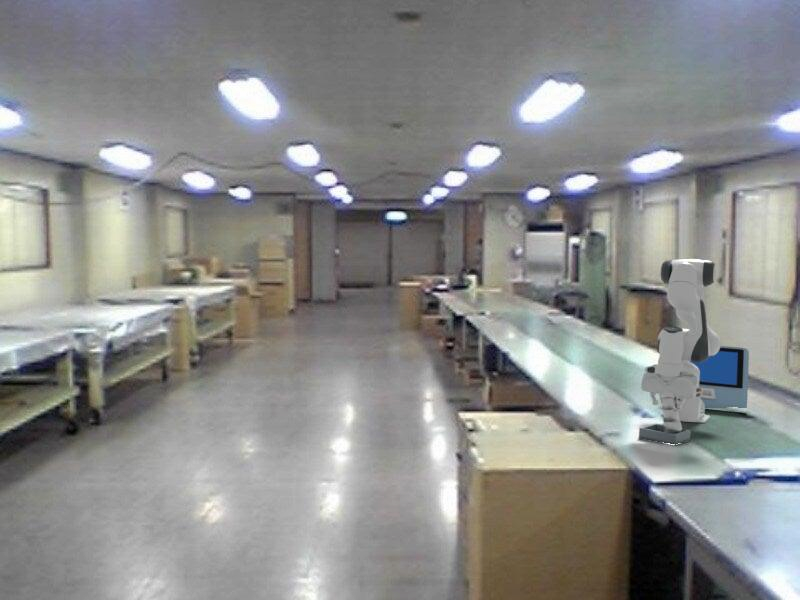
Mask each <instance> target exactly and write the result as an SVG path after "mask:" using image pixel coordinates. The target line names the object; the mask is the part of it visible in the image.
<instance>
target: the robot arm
mask: <svg viewBox="0 0 800 600" xmlns="http://www.w3.org/2000/svg"><path fill="white" fill-rule="evenodd" d="M717 275H718V269H717V267H716V264H715V263H714V261H712V260H707V259H704V260H702V259H695V258H688V259H673V258H672V259H666V260H664V261H663V262H662V263H661V266H660V269H659V277H660V279H661V281H662V283H664V284H666V285H667V291H666V292H667V293H666V294H667V295H666V296H667V297H666V298H667V301H668V303H669V304H670V305H671V306H672V307H673V308H674V309H675V315H676V317H677V318H678V319H679V320H681V321H682V322H683V323H686V325H687V326H688V328H682V327H678V326H665V327H663V328H662V330H661V331H660V332H659V333H658V337H657V349H656V352H657V353H658V354H659V357H658V358H657V359H658V360H657V364H653V365H649V366H646V367H644V372H645V373H643V375H642V378H641V384H640V387H641V390H642V392H648V393H649V395H650V398H651V399H652V405H654V406H658V405H659V399H657V398H656V395H657V394H659V395H660V393H661V391H662V390H663V389H669V390H670V391H671V392H672V393H673V395H674V396H676V397H678V404H677V409H678V414H679V418H680V422H684V423H685V422H686V423H700V424H701V423H702V424H704V423H706V422H708V421H709V419H710V418H711V415H709V414H705V412H706V410H705V404H704V403H703V401H702V400H701V398H700V392H702V388H699V380H700V370H699V368H698V367H697V366H696V365H694V364H693V363H691V362H690V361H692V362H697V363H702V362H704V361H705V360H707V359H708V358H709V356H714V355H715V354H717V353H718V351H719V349H720V347H721V346H722V341H721V339H720V337H719V335H718V334H717V333H716V332H715V331H714V330H712V328H711V327H710V326H709V324H708V322H707V321H708V320H707V314H706V306H705V289H704V288H706V287H708V286H711V285H713V284H714V283H715V280H716V278H717ZM663 381H667V383H668V385H667V384H663ZM664 385H667V386H664ZM661 416H662V417H663V412H661Z"/></svg>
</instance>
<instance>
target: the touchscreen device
mask: <svg viewBox="0 0 800 600" xmlns="http://www.w3.org/2000/svg"><path fill="white" fill-rule="evenodd" d="M749 355H750V352H749V349H748V348H745V347H740V346H739V347H736V346H726V345H725V346H724V345H721V347H720V349H719V351H718V353H717V354H715V355H714V356H709V358H708V359H707V360H705V361H704V362H702V363H697V362H692V361H690V362H691V363H693V364H694V365H696V366H697V367H698V368H699V370H700V380H699V388H702V392H700V398H701V400H702V401H703V403H704V404H705V408H727V407H738V408H747V409H748V390H749V388H748V387H749V362H750V361H749V360H750V356H749Z"/></svg>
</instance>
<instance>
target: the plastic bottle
mask: <svg viewBox="0 0 800 600" xmlns="http://www.w3.org/2000/svg"><path fill="white" fill-rule="evenodd" d="M663 384H667V385H668V383H667V381H663ZM667 385H664V386H667ZM659 399H660V404H661V409H662V413H663V416H662V417H663V423H662V425H663V429H664V432H665V433H670V434H677V433H680V432H681V431H682V429H683V427H682V421H680V418H679V414H678V409H677V404H678V397H676V396H674V395H673V393H672V392H671V391H670V390H669V389H663V390H662V391H661V393H660V394H659Z"/></svg>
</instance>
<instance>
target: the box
mask: <svg viewBox="0 0 800 600" xmlns="http://www.w3.org/2000/svg"><path fill="white" fill-rule="evenodd" d="M638 431H639V432H638V439H639V438H640V440H643V439H645V440H644V441H648V440H651V441H650V442H653V441H657V442H656V443H658V442H664V443H670V444H675V445H676V444H678V443H682V442H685V443H687V442H686V441H688V442H690V441H691V432H692V431H691V429H685V428H682V431H681V432H680V433H677V434H670V433H665V432H664V429H663V424H658V423H652V424H648V425H645V426H641V427H639V428H638ZM682 444H683V443H682Z"/></svg>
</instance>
